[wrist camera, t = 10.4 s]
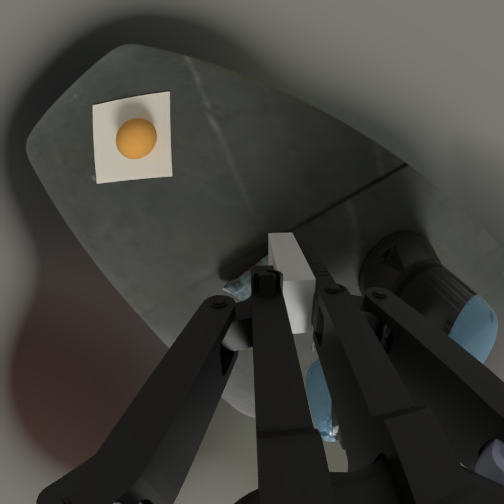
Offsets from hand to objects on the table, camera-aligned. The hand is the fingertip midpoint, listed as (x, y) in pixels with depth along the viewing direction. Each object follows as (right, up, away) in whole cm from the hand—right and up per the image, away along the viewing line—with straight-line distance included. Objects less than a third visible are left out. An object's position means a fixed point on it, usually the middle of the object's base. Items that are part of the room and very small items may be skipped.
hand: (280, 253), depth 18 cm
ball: (-17, +15, +14) cm, 26 cm away
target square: (-19, +16, +16) cm, 29 cm away
